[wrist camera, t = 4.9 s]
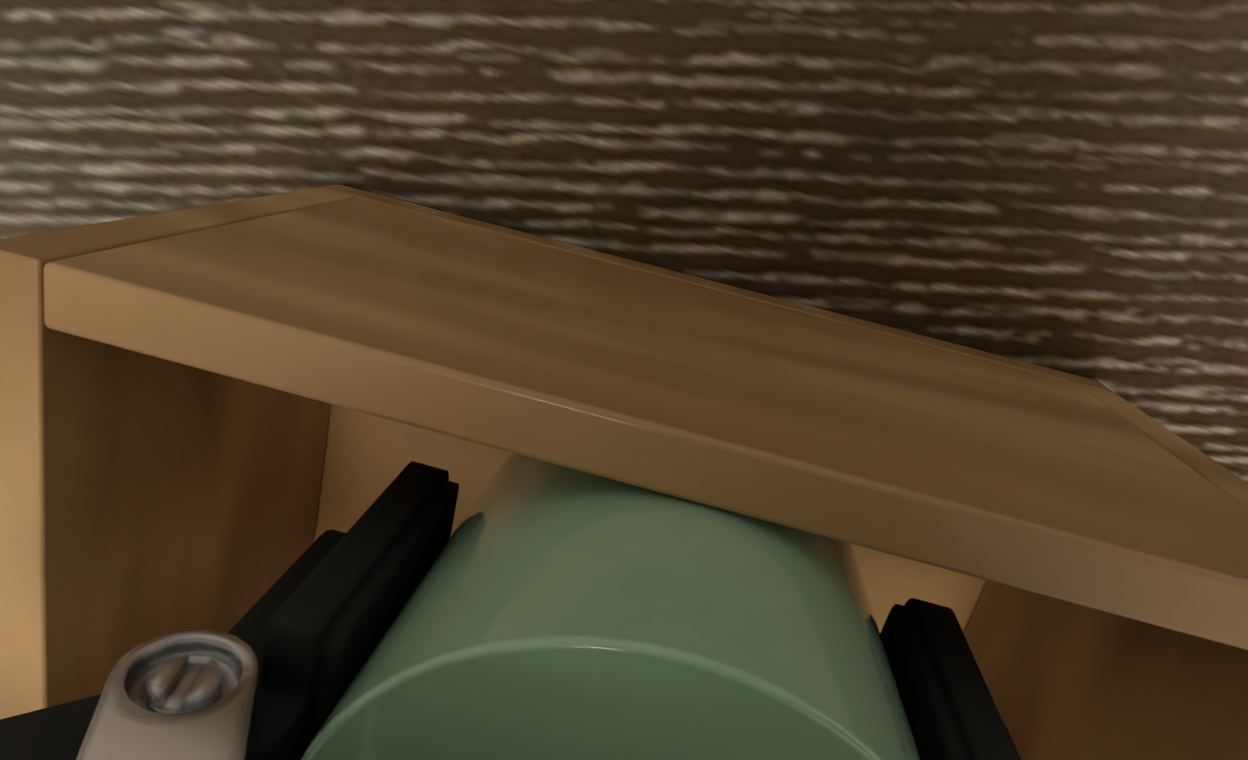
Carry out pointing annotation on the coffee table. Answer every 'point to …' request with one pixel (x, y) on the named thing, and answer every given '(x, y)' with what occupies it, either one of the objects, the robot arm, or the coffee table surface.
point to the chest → (581, 449)
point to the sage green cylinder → (624, 638)
